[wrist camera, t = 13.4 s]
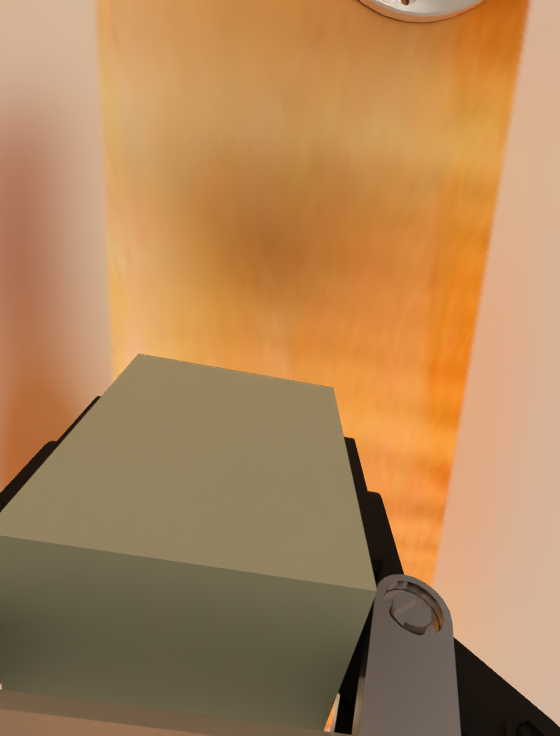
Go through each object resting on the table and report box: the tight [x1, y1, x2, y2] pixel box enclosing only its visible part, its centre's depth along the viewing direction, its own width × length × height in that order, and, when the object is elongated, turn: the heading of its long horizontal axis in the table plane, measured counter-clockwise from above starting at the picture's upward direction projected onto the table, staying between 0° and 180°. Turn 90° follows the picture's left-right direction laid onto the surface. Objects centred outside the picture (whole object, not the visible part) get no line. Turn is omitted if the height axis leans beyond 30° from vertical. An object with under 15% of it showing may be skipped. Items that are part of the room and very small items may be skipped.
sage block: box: [0, 354, 377, 731], centre depth 9 cm, size 5×5×6 cm
